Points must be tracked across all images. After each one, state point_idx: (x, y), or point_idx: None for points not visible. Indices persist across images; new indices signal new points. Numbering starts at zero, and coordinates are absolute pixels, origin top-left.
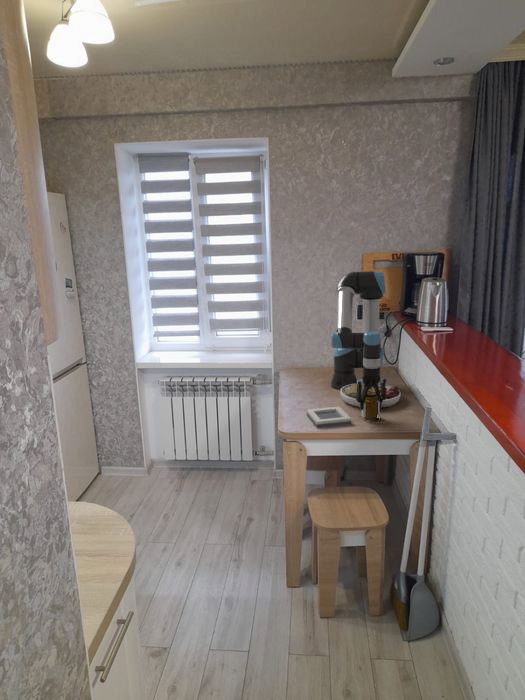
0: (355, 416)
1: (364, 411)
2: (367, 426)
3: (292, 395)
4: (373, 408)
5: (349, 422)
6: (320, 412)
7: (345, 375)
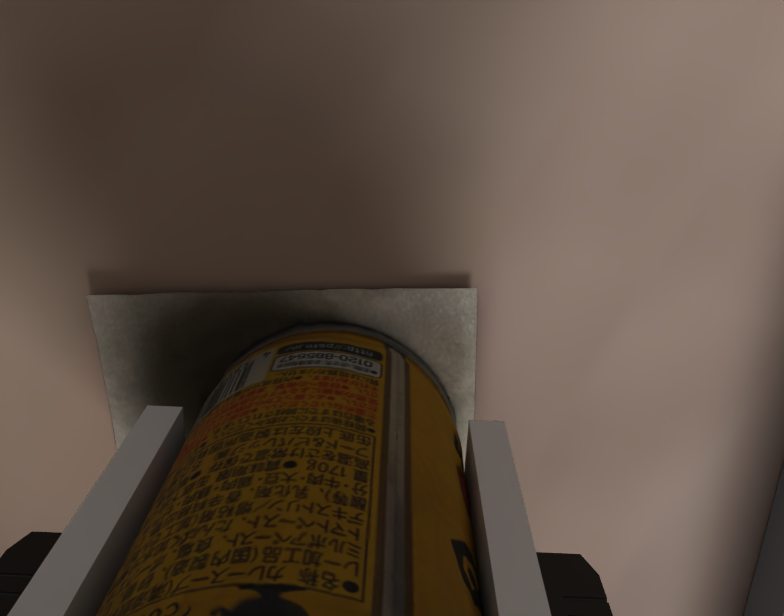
0: None
1: (510, 497)
2: (588, 74)
3: None
4: (290, 468)
5: None
6: None
7: None
